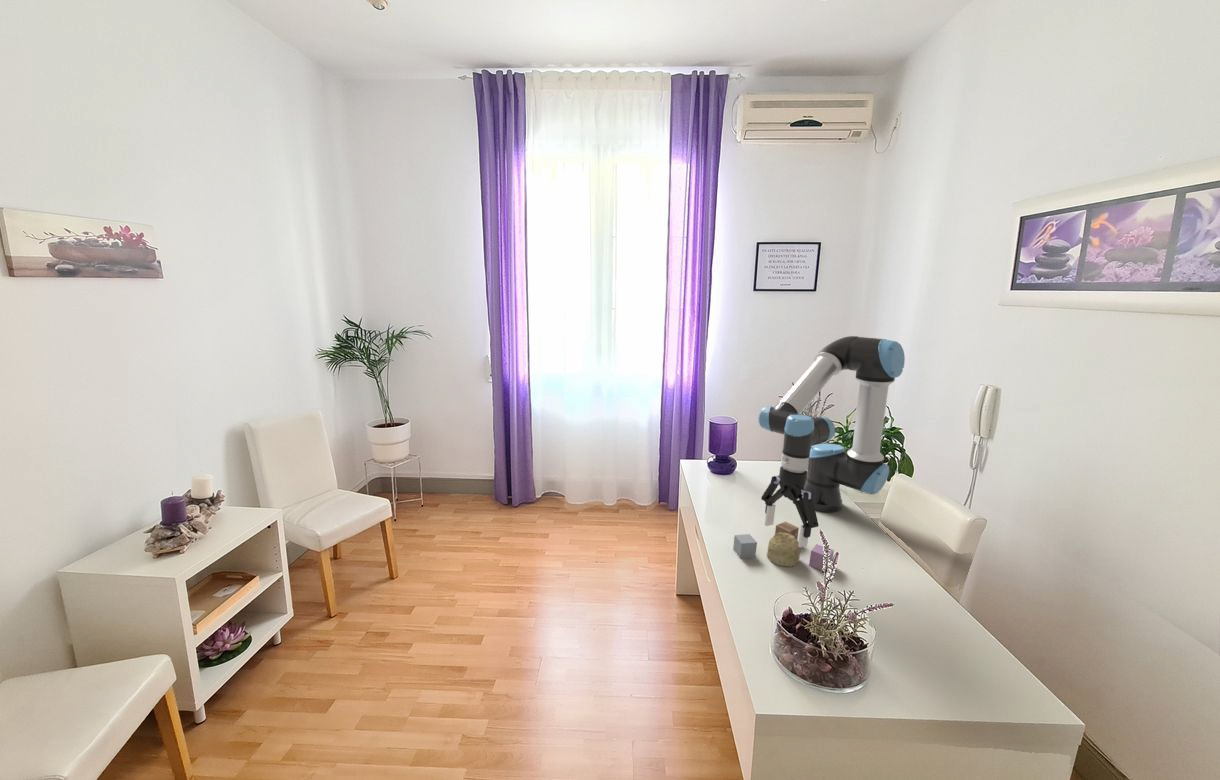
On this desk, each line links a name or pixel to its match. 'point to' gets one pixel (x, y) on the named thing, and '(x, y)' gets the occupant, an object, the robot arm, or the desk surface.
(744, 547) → the slate cube
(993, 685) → the desk surface
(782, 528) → the walnut cube
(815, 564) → the plum cube
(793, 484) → the robot arm
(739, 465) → the desk surface
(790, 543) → the decorative object
